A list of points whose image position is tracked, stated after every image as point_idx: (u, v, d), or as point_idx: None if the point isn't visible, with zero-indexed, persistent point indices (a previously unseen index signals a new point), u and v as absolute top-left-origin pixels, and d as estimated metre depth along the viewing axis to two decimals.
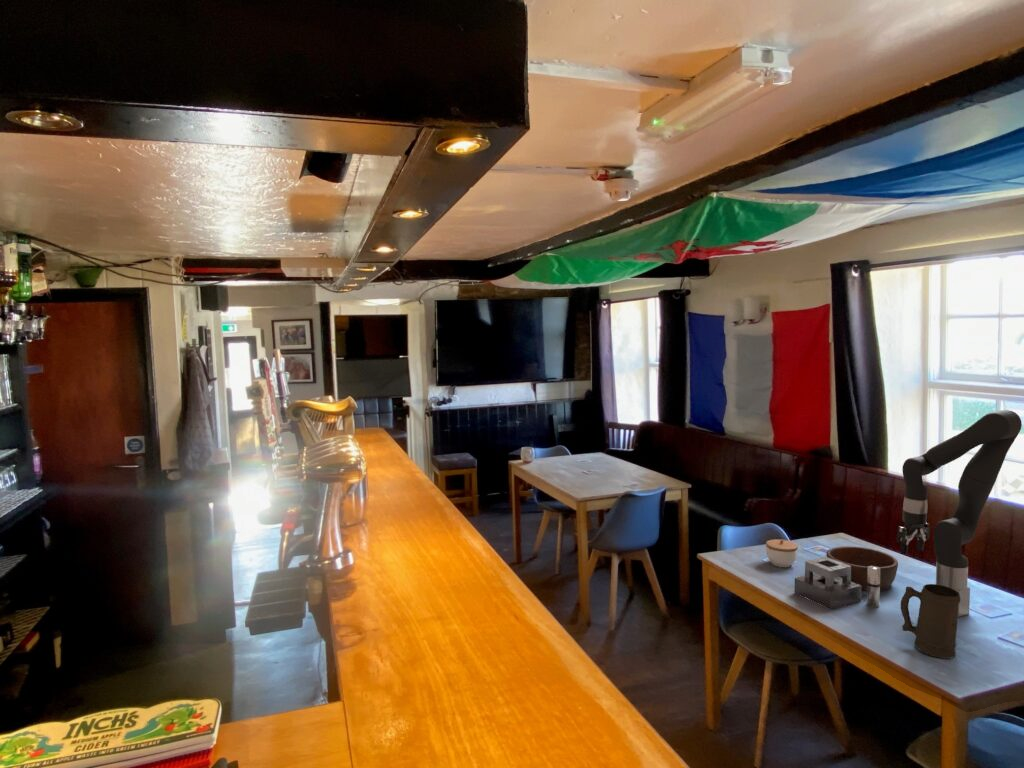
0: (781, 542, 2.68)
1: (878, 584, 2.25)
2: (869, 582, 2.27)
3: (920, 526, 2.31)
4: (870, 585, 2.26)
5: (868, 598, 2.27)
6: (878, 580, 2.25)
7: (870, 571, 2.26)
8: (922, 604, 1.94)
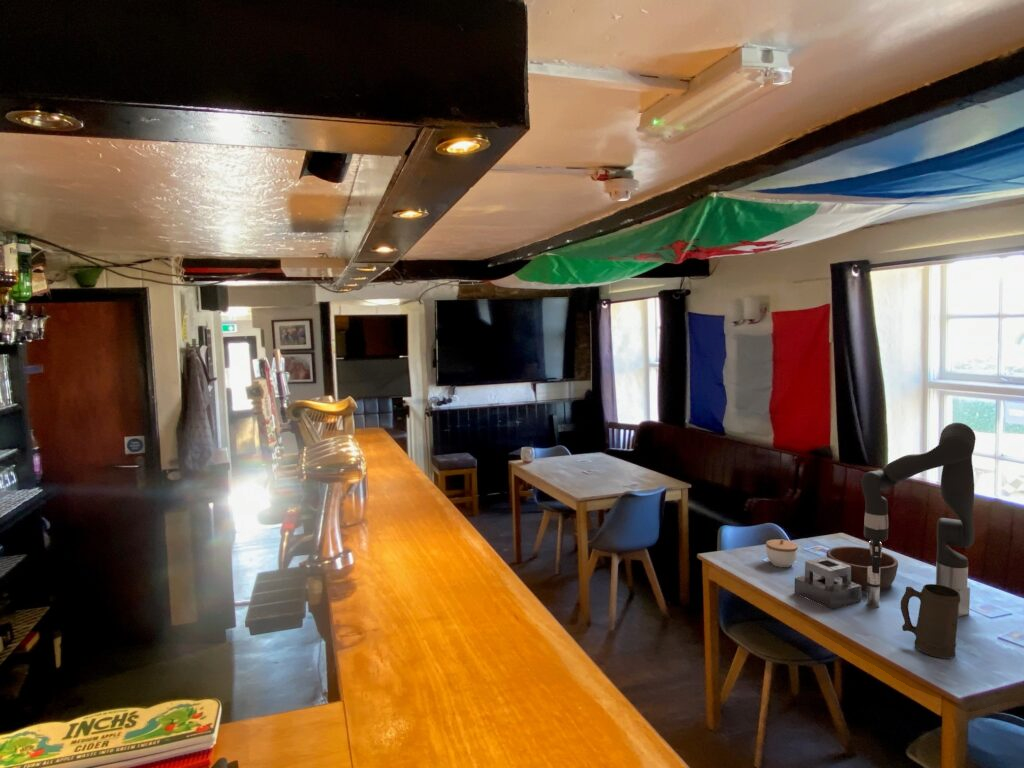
0: (781, 542, 2.68)
1: (878, 584, 2.25)
2: (869, 582, 2.27)
3: (872, 543, 2.24)
4: (870, 585, 2.26)
5: (868, 598, 2.27)
6: (878, 580, 2.25)
7: (870, 571, 2.26)
8: (922, 604, 1.94)
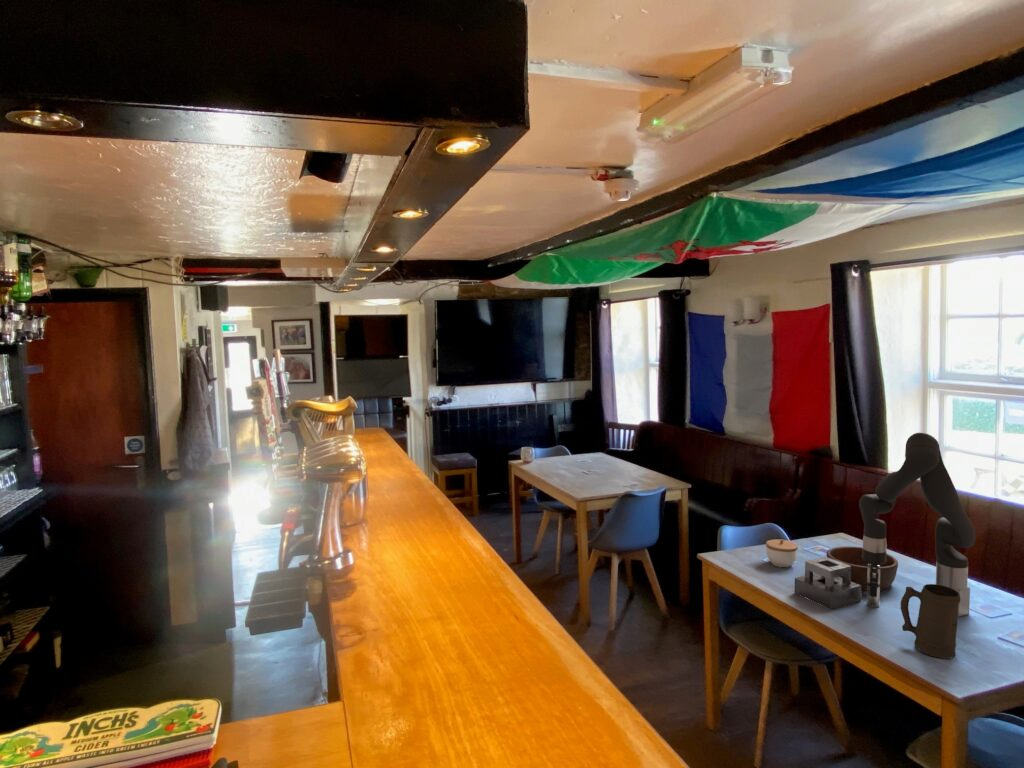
0: (781, 542, 2.68)
1: (878, 584, 2.25)
2: (869, 582, 2.27)
3: (870, 566, 2.25)
4: None
5: (868, 598, 2.27)
6: None
7: None
8: (922, 604, 1.94)
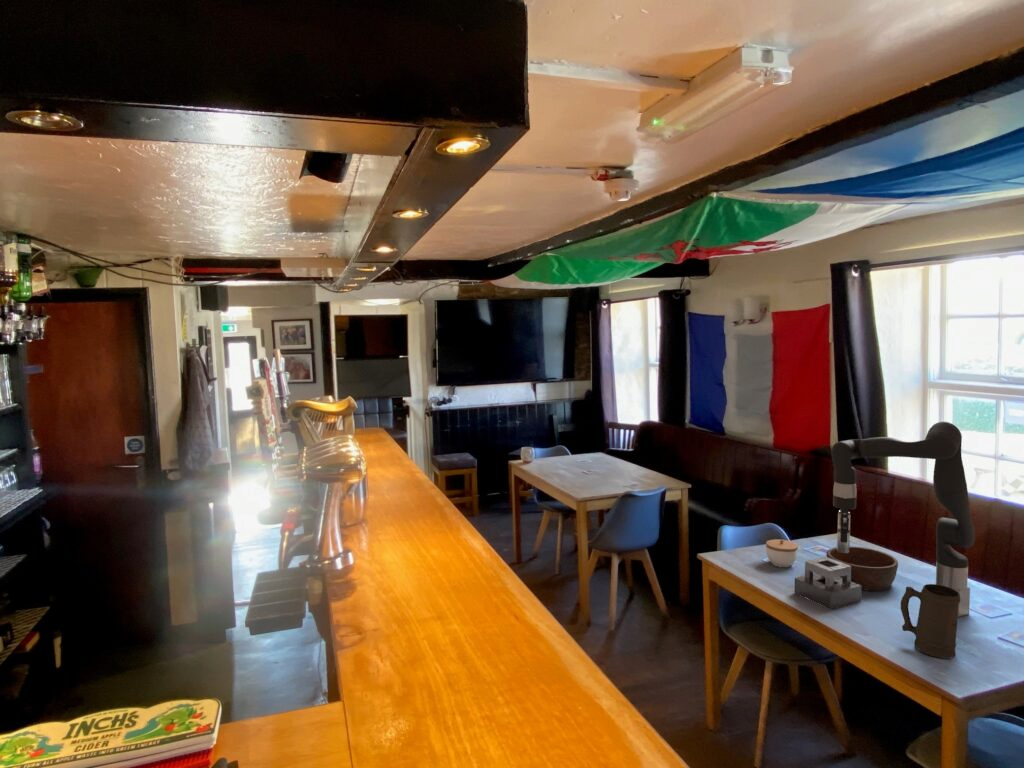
0: (781, 542, 2.68)
1: None
2: (839, 528, 2.28)
3: (841, 512, 2.27)
4: None
5: (838, 544, 2.29)
6: (848, 526, 2.27)
7: None
8: (922, 604, 1.94)
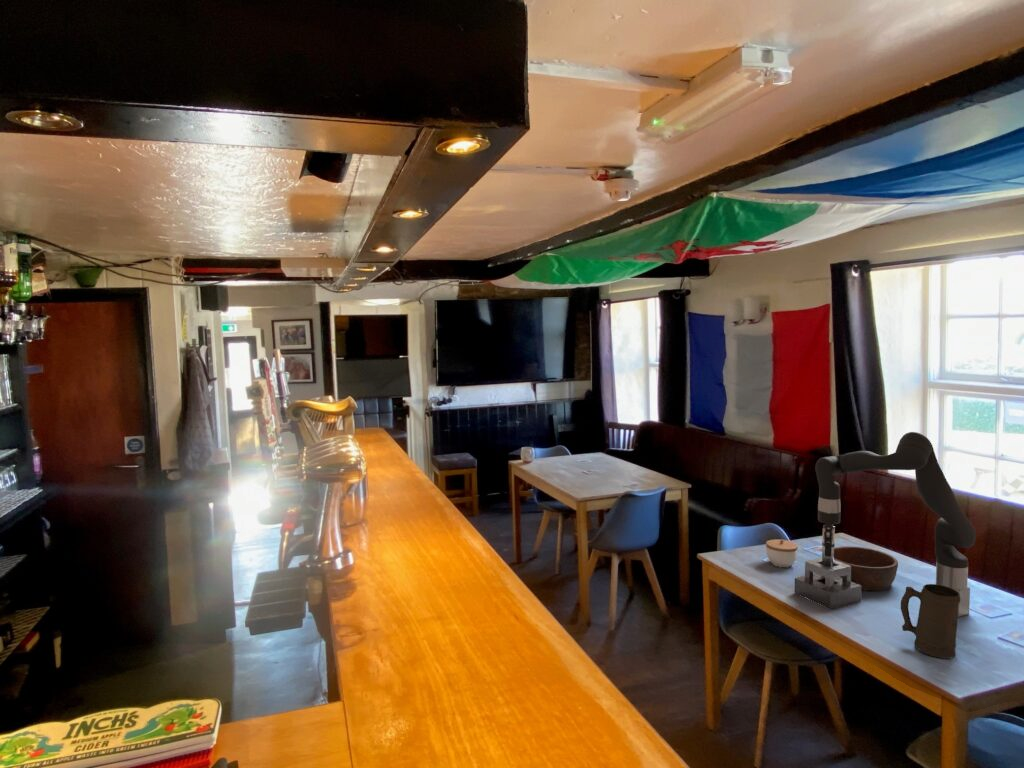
0: (781, 542, 2.68)
1: (832, 544, 2.32)
2: None
3: (825, 526, 2.32)
4: None
5: (823, 558, 2.34)
6: None
7: None
8: (922, 604, 1.94)
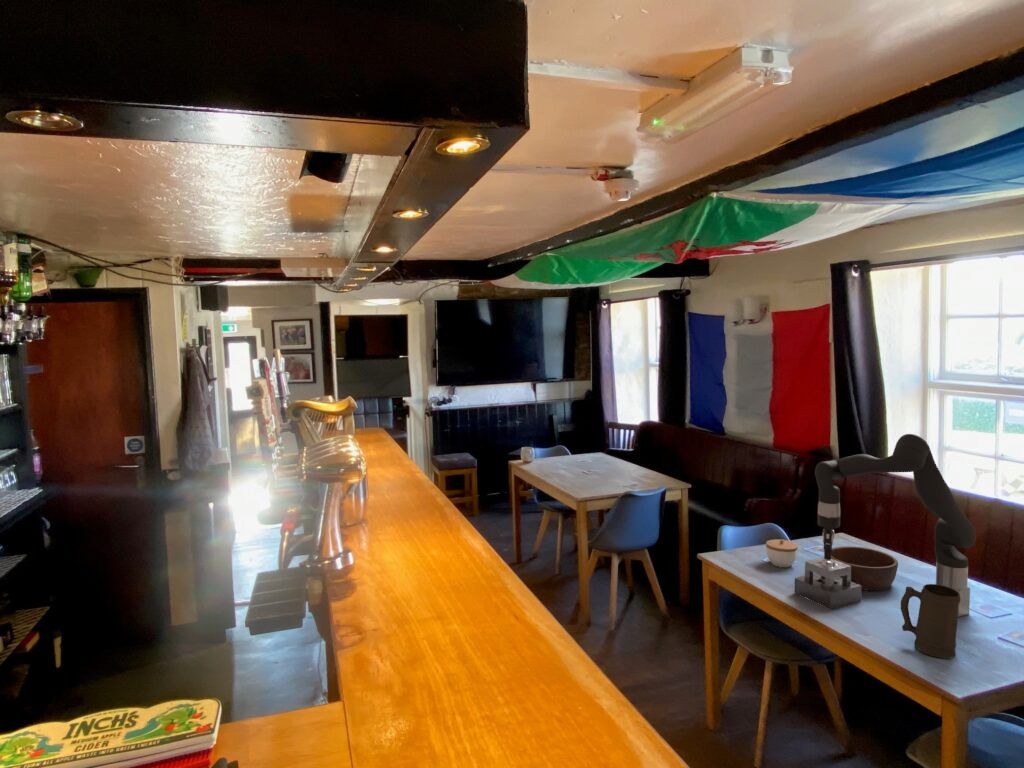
0: (781, 542, 2.68)
1: None
2: None
3: (825, 531, 2.32)
4: (823, 578, 2.33)
5: None
6: None
7: None
8: (922, 604, 1.94)
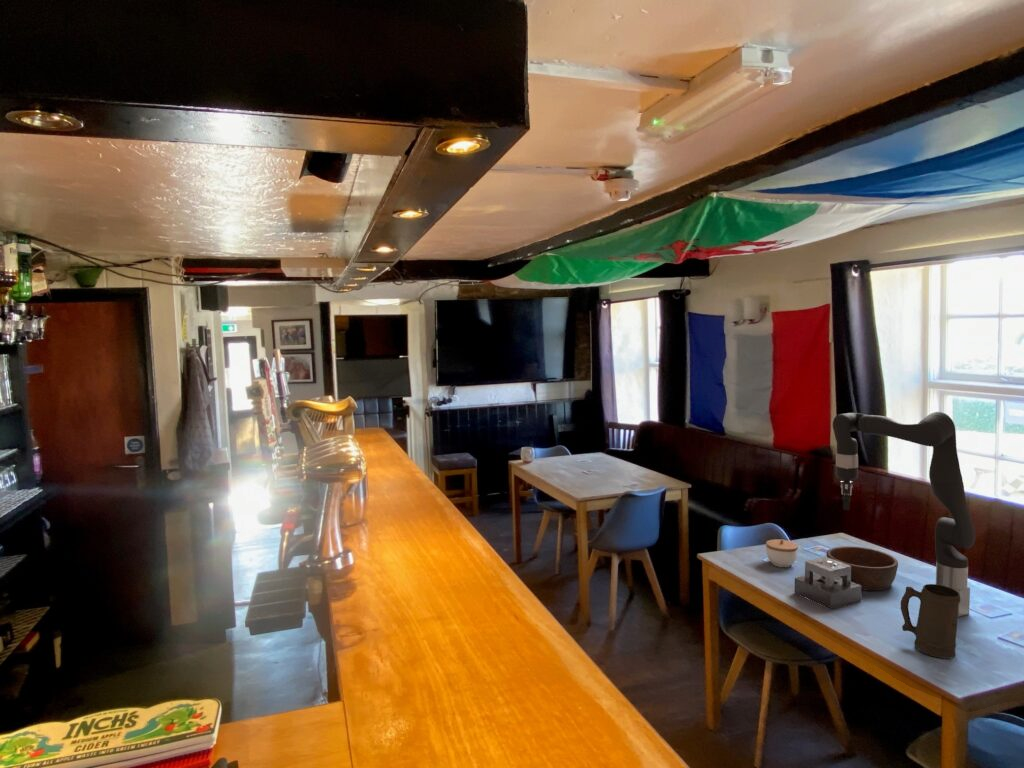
0: (781, 542, 2.68)
1: None
2: None
3: (843, 482, 2.37)
4: (824, 578, 2.34)
5: None
6: None
7: (824, 564, 2.33)
8: (922, 604, 1.94)
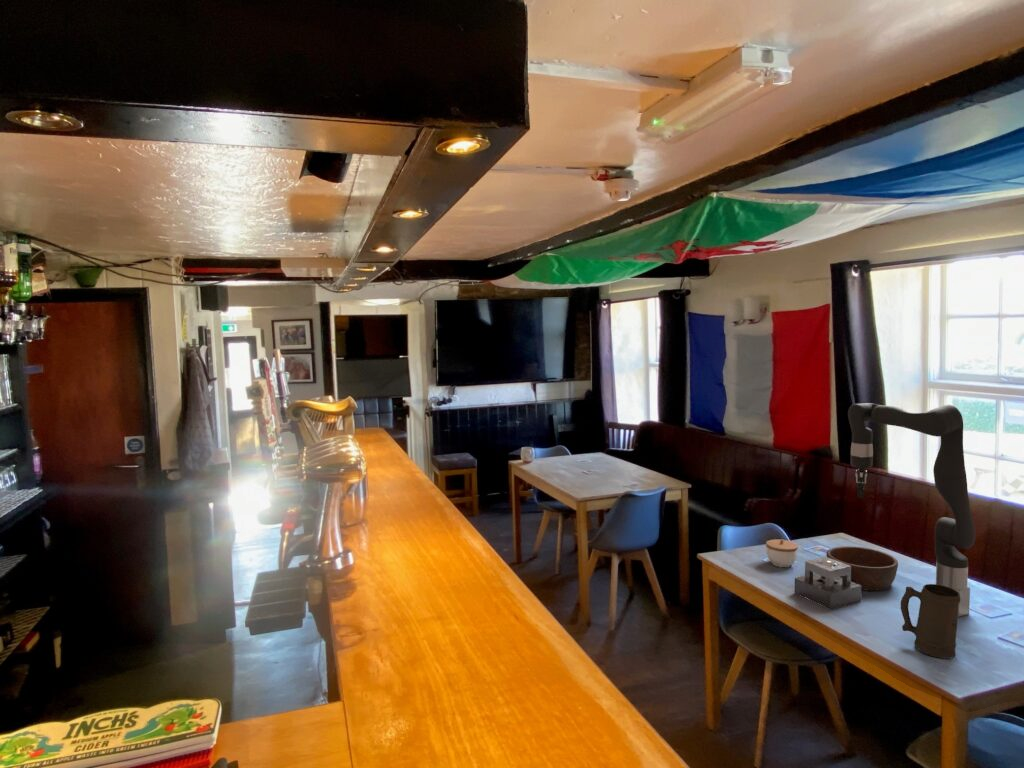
0: (781, 542, 2.68)
1: None
2: None
3: (858, 470, 2.42)
4: (824, 577, 2.34)
5: None
6: None
7: (824, 564, 2.33)
8: (922, 604, 1.94)
